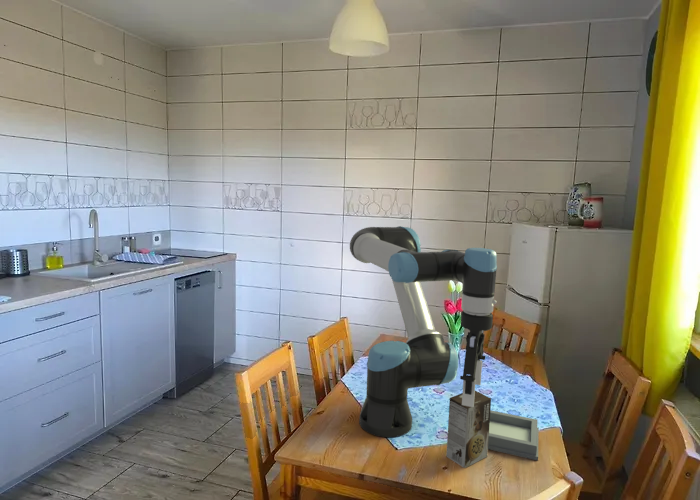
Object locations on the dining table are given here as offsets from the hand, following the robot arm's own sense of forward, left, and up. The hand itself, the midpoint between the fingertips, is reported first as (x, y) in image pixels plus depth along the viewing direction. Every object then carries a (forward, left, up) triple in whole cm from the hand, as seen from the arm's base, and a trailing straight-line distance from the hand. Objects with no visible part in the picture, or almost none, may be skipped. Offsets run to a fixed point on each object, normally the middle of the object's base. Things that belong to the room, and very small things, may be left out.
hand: (471, 394), depth 117 cm
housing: (+9, +14, -17) cm, 24 cm away
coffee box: (0, 0, -17) cm, 17 cm away
